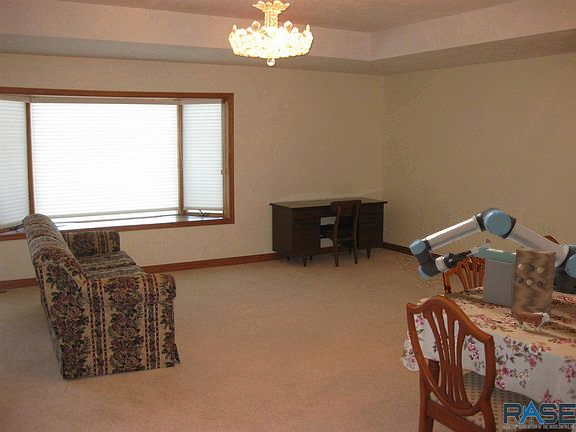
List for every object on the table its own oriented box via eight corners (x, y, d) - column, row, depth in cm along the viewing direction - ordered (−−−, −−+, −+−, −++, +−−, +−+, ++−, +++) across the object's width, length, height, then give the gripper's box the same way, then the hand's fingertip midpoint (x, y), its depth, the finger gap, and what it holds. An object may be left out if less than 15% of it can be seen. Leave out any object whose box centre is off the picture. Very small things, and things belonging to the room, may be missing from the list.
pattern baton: (526, 263, 281) (527, 254, 280) (522, 265, 278) (523, 255, 277) (476, 255, 297) (477, 246, 296) (472, 256, 294) (473, 247, 293)
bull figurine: (548, 334, 245) (550, 315, 244) (513, 328, 252) (515, 309, 251) (550, 331, 249) (552, 312, 248) (516, 325, 256) (517, 306, 255)
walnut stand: (549, 321, 263) (556, 252, 258) (542, 325, 257) (549, 254, 252) (517, 313, 272) (522, 247, 268) (510, 317, 266) (515, 249, 262)
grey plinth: (516, 303, 288) (519, 261, 285) (509, 306, 282) (512, 264, 279) (489, 297, 297) (492, 257, 294) (482, 301, 291) (485, 259, 288)
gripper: (462, 265, 314) (498, 250, 300) (437, 273, 295) (475, 258, 282) (456, 251, 315) (492, 236, 301) (431, 259, 297) (468, 243, 283)
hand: (484, 246), depth 292 cm, fingers open, 13 cm apart
